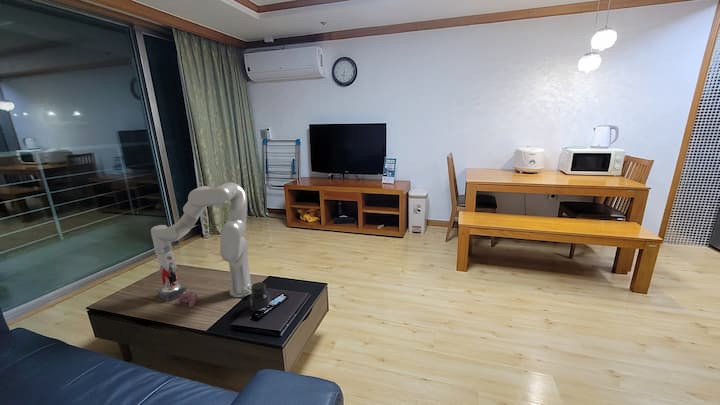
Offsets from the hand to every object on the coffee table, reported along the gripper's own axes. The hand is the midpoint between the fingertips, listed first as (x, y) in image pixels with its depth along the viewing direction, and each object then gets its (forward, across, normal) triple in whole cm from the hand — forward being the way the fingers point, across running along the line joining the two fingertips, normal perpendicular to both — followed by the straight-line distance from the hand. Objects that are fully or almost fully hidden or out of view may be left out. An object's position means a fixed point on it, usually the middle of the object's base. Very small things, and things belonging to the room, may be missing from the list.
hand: (169, 279), depth 160 cm
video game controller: (+9, -15, 0) cm, 18 cm away
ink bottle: (+10, -50, -19) cm, 54 cm away
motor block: (+9, +2, 0) cm, 9 cm away
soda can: (+4, 0, 0) cm, 4 cm away
